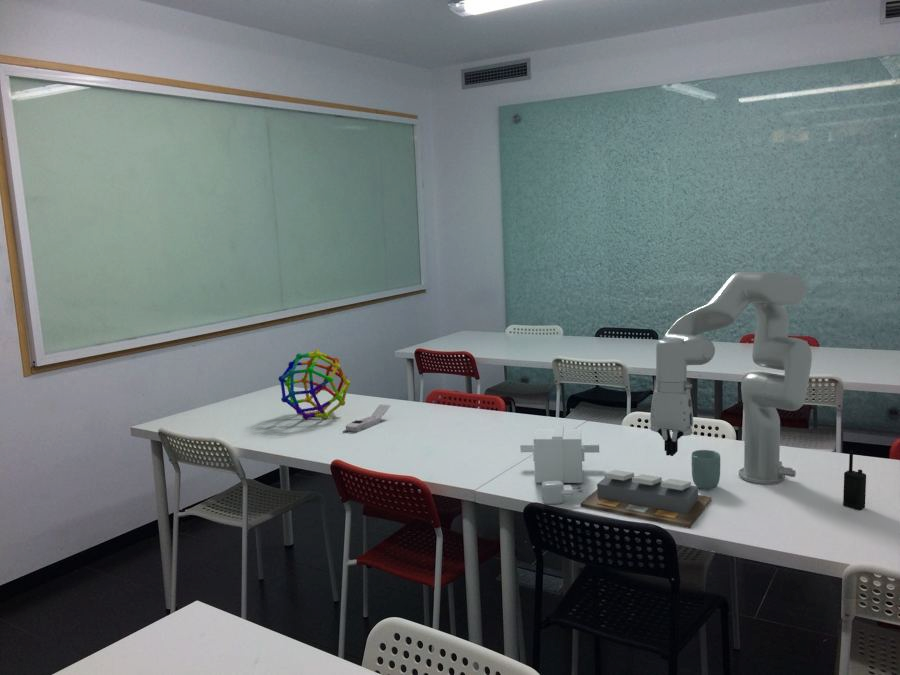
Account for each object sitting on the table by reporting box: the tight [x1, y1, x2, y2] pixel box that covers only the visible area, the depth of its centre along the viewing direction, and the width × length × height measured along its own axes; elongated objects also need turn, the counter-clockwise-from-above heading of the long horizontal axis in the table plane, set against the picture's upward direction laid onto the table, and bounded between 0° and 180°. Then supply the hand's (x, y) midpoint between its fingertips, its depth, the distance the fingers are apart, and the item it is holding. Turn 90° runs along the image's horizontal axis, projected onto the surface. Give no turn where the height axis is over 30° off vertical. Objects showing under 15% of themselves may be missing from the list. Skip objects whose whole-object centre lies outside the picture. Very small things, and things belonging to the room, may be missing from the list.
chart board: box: [579, 489, 713, 529], centre depth 197 cm, size 30×20×1 cm, turn 55°
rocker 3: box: [661, 478, 692, 490], centre depth 192 cm, size 6×8×1 cm
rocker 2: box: [632, 473, 663, 485], centre depth 197 cm, size 6×8×1 cm
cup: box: [691, 449, 721, 491], centre depth 205 cm, size 8×8×10 cm
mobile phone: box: [342, 404, 391, 433], centre depth 290 cm, size 6×6×25 cm
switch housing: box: [596, 475, 699, 514], centre depth 197 cm, size 25×10×5 cm, turn 55°
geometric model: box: [278, 349, 351, 420], centre depth 304 cm, size 30×30×30 cm
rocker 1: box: [603, 469, 635, 481], centre depth 201 cm, size 6×8×1 cm
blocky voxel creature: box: [519, 426, 600, 485], centre depth 226 cm, size 15×25×28 cm
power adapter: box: [541, 481, 584, 505], centre depth 201 cm, size 11×5×6 cm, turn 90°
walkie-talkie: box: [842, 450, 867, 511], centre depth 186 cm, size 5×3×15 cm
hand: (671, 454), depth 188 cm, fingers closed
